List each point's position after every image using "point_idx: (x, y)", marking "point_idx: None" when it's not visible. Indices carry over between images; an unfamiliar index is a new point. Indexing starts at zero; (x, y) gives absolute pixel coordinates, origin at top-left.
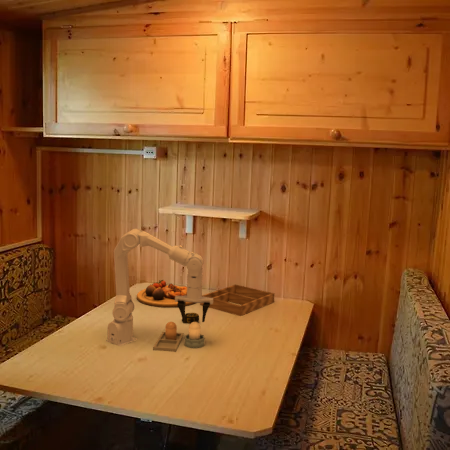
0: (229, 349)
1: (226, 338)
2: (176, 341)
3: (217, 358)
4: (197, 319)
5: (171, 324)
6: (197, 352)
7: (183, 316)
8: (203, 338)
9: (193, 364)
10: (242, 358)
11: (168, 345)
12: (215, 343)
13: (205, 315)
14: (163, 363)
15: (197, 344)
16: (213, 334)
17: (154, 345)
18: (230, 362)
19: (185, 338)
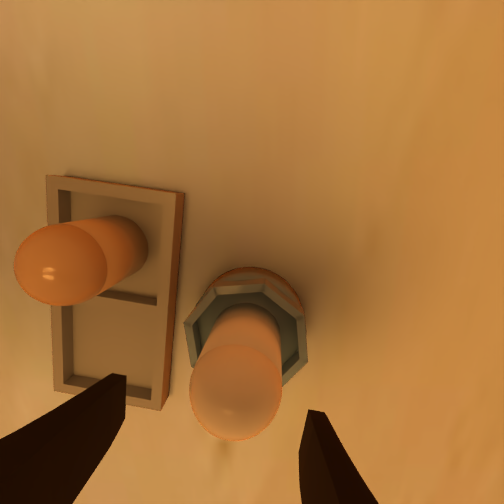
0: (435, 361)
1: (450, 202)
2: (151, 313)
3: (357, 453)
4: None
5: (51, 300)
6: None
7: (89, 471)
8: (301, 364)
9: (251, 496)
10: (479, 458)
11: (122, 333)
12: (368, 283)
13: (346, 465)
14: (136, 481)
15: None
16: (373, 133)
17: (55, 372)
18: (411, 490)
19: (192, 363)
